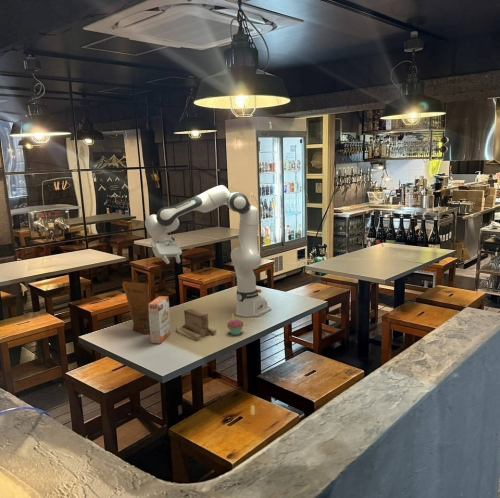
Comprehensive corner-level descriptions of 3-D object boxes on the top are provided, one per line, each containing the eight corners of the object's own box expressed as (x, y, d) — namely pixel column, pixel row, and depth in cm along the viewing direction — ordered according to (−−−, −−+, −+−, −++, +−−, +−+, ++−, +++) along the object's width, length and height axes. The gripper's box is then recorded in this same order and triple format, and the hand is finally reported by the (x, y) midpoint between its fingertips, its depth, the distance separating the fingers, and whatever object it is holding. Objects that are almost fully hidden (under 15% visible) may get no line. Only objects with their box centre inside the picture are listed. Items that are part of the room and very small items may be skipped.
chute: (194, 325, 253) (194, 321, 253) (216, 334, 239) (216, 329, 238) (176, 331, 245) (175, 327, 245) (198, 341, 231) (197, 336, 230)
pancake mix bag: (147, 337, 238) (143, 285, 233) (125, 329, 250) (120, 280, 245) (157, 333, 244) (153, 282, 238) (135, 326, 255) (131, 277, 250)
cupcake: (237, 337, 234) (236, 315, 232) (224, 334, 238) (223, 312, 236) (246, 331, 241) (245, 310, 239) (233, 329, 246) (232, 307, 243)
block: (193, 329, 248) (191, 307, 246) (208, 335, 238) (207, 313, 236) (185, 331, 245) (184, 310, 242) (201, 338, 235) (199, 316, 232)
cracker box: (161, 344, 229) (158, 304, 225) (150, 343, 230) (147, 303, 226) (171, 333, 242) (169, 296, 238) (161, 333, 243) (158, 295, 239)
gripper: (153, 238, 240) (165, 260, 237) (177, 238, 258) (188, 258, 255) (146, 245, 243) (157, 267, 240) (169, 244, 261) (180, 264, 258)
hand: (173, 262), depth 248 cm, fingers open, 8 cm apart
